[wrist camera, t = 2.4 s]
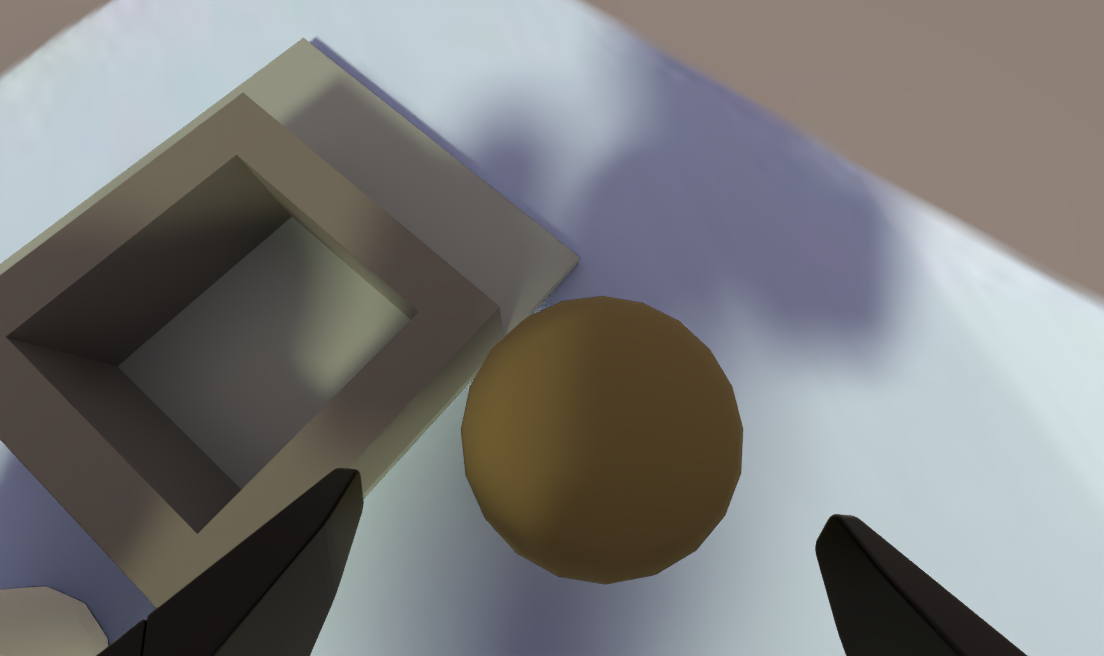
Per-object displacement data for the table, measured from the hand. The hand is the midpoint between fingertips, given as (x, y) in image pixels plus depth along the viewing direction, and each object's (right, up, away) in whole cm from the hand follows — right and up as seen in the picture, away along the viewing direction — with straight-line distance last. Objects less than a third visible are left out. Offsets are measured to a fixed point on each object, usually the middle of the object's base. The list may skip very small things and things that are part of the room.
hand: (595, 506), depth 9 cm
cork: (-1, -1, +9) cm, 9 cm away
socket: (-11, +5, +10) cm, 16 cm away
